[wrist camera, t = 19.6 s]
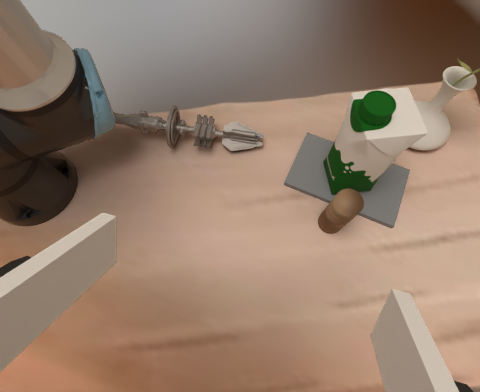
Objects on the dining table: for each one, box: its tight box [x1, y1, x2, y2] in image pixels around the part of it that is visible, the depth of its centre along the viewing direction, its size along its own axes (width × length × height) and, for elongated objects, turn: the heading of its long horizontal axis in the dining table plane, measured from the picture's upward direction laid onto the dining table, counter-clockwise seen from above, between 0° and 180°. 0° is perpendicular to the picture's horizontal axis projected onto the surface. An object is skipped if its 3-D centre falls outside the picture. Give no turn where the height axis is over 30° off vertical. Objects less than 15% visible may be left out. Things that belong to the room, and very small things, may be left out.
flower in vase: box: [409, 58, 480, 150], centre depth 48 cm, size 13×11×25 cm
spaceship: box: [113, 106, 264, 151], centre depth 56 cm, size 8×35×8 cm
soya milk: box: [323, 87, 428, 195], centre depth 45 cm, size 9×9×20 cm
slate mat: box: [284, 133, 410, 228], centre depth 55 cm, size 20×12×1 cm, turn 65°
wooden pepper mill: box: [318, 189, 364, 234], centre depth 47 cm, size 4×4×11 cm
